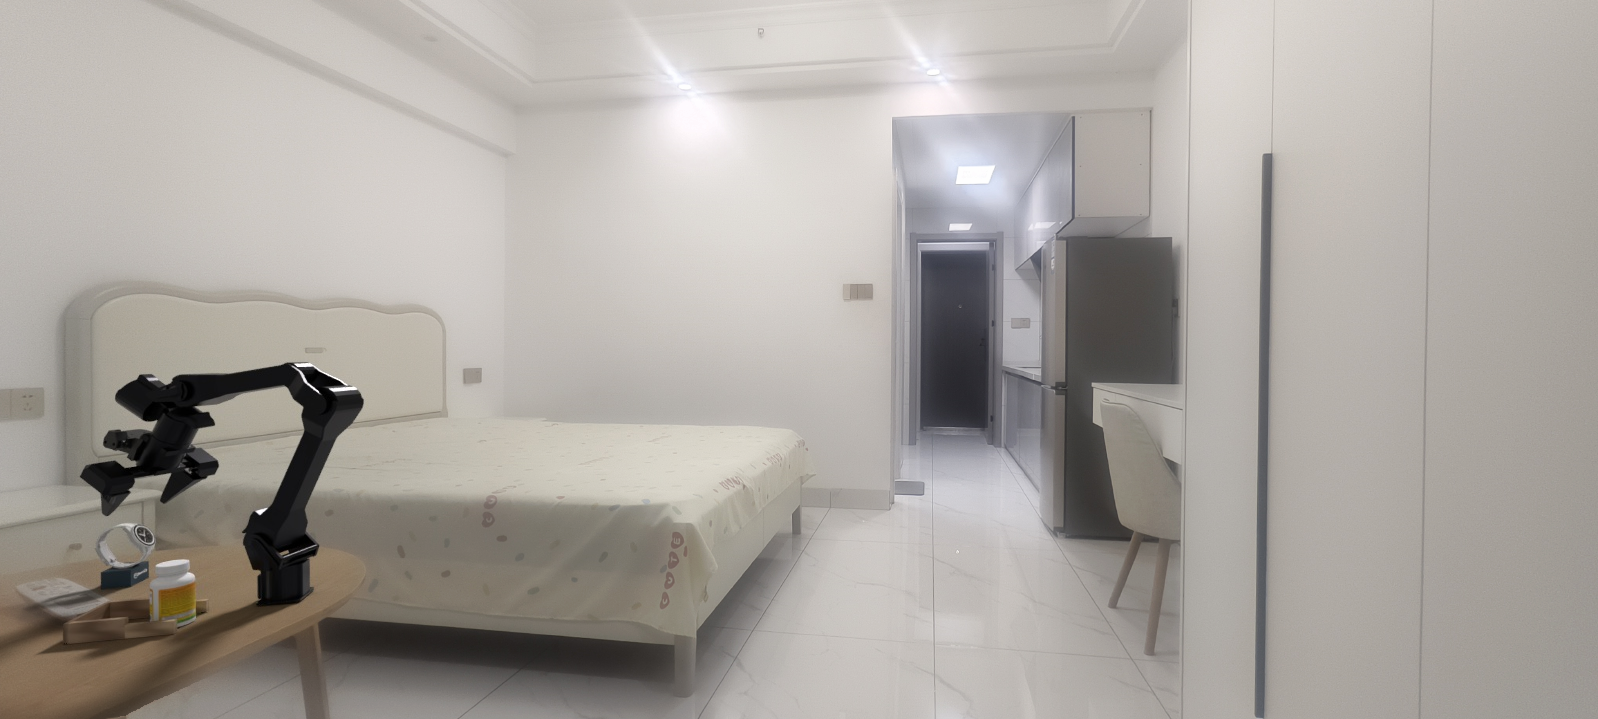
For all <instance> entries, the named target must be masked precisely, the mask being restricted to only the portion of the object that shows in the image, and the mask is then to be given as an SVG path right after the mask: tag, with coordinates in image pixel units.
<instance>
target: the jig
mask: <svg viewBox="0 0 1598 719" xmlns="http://www.w3.org/2000/svg"><path fill="white" fill-rule="evenodd" d="M207 611H208V612H210V599H209V598H201V599H196V614H202V613H201V612H207ZM208 612H207V613H208ZM146 618H147V619H148V618H149V619H150V597H140V598H130V599H129V598H128V599H118V600H117V599H115V600H107V601H105V602H104V603H102V604H100V605H98V606H95V607H93V608H92V609H90V610H88V611H86V612H83V613H82V614H80V615H78V616H76V617H74V618H72V619H70V620H68V621H66V622H65V623H63V624H62V645H71V644H82V643H90V642H91V643H92V642H103V641H112V640H115V641H116V640H125V639H126V640H127V639H134V638H144V637H154V636H156V637H157V636H167V635H174V634H176V633H178V627H177V619H172V620H160V621H150V620H149V621H140V622H138V621H137V622H130V623H129V620H136V619H146ZM64 643H65V644H64ZM66 643H67V644H66Z"/></svg>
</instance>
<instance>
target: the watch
mask: <svg viewBox="0 0 1598 719" xmlns="http://www.w3.org/2000/svg"><path fill="white" fill-rule="evenodd" d="M120 528H122V530H123V531H124V533H126V538H127V540H128V542H129V543H130V544H131V545H132V546H133V547H134V548H136V549H138V550H139V552H140V553H141V554H142V556H141V557H140V558H139V560H137V561H132V562H131V561H130V562H129V561H128V562H121V561H120V562H119V561H118V559H117V557H116V556H115V555H114V554H113V552H112V551H111V550H110V547H109V544H108V545H107V540H106V538H107V536H108V534H110V533H111V531H113V530H114V529H120ZM156 540H157V539H156V536H155V534H154V532H153V531H152V530H151V529H150V528H149V527H148V526H146V525H144V524H142V523H136V522H135V523H134V522H124V523H123V522H122V523H120V524H117V525H114V526H111V527H109V528H107V529H105V530H104V531H102V532H101V533H100V534H99V535H98V537H97V538H96V541H95V548H94V549H95V552H96V555H97V556H98V557H99V559H100V560H101V562H102V563H103V564H104V565H105V566H107V567H108V566H109V568H107V569H104V570H103V571H101V572H100V590H110V589H111V590H112V589H121V588H131V587H133V586H135V585H137V584H140V583H141V582H143V581H145V580H146V579H149V578H150V571H149V570H150V568H149V567H150V563H149V562H150V561H149V560H147V559H148V558H149V557H150V556H151V554H152V553H153V552H154V549H155V545H156V542H157V541H156Z"/></svg>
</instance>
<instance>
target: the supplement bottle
mask: <svg viewBox="0 0 1598 719" xmlns="http://www.w3.org/2000/svg"><path fill="white" fill-rule="evenodd" d="M190 566H191V565H190V560H189V559H173V560H168V561H163V562H160V563H157V564H155V566H154V567H155V568H154V570H155V571H154V573H155V576H156V577H155V578H153V579H152V580H151V581H150V582H149V598H150V617H149V621H160V620H172V619H177V628H180V627H183V626H186V625H188V624H191V623H192V622H194V621H195V620H196V618H197V613H196V600H197V596H196V576H195V574H194V573H193V572H188V571H189V570H190Z"/></svg>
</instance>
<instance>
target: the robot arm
mask: <svg viewBox="0 0 1598 719" xmlns="http://www.w3.org/2000/svg"><path fill="white" fill-rule="evenodd" d="M283 387H284V388H287V389H288V391H289V394H290V396H291V398H292V400H293V401H295V402H296V403H297V404H299V405H300V406H302V411H301V414H300V416H301V417H300V418H301V422H302V425H303V433H302V436H301V437H300V439H299V442H298V444H297V447H296V449H295V451H294V453H293V456H292V458H291V460H290V462H289V465H288V467H287V469H286V471H285V474H284V476H283V477H282V480H281V482H280V485H279V487H278V489H277V491H276V493H275V496H274V498H273V499H272V500H273V501H272V502H271V504H270V505H269V506H267V507H265V508H260V509H257V510H253V511H252V512H251V514H250V516H249V518H248V522H247V525H246V526H245V528H244V529H243V530H242V531H241V534H244V536H243V539H242V546H244V550H245V553H246V555H247V558H248V560H249V563H250V566H251V568H252V571H260V573H259V574H258V575H257V576H256V584H257V585H256V586H257V587H256V589H257V599H258V600H257V601H256V602H255V606H266V605H267V606H268V605H278V604H291V603H299V602H301V601H302V600H303V599H305V598H306V597H307V596H309V595H310V594H311V593H312V592H313V591H314V590H315V586H311V572H310V571H311V562H310V561H311V558H312V557H313V558H314V557H316V556H318V552H319V548H320V544H319V543H318V542H317V541H316V540H315V539H314V538H313V537H312V536H311V534H309V532H307V527H308V523H309V521H308V516H307V511H306V508H307V505H308V503H309V500H311V499H310V498H311V496H312V495H313V492H314V490H315V488H316V485H317V483H318V481H319V478H320V476H321V473H322V471H324V470H323V469H324V467H325V464H326V462H327V461H328V458H329V455H331V451H332V450H333V448H334V445H335V443H336V440H337V439H338V437H339V436H340V435H342V433H344V431H346V429H348V428H349V427H350V426H351V425H352V424H353V423H354V421H355V420H356V419H357V417H358V416H359V414H360V413H361V411H363V410H362V409H363V407H364V404H365V403H364V402H365V400H364V398H363V396H362V394H361V391H359V389H358V388H357V387H355V386H353V385H350V384H347V383H345V382H344V380H341V379H339V378H337V377H335V376H333V375H331V374H329V373H327V372H324V371H322V370H321V369H319V368H318V367H317V366H315V365H314V364H312V363H310V362H308V361H294V362H293V361H292V362H291V361H289V362H287V361H286V362H284V363H282V364H279V365H273V366H268V367H267V366H266V367H262V368H261V367H260V368H255V369H254V368H253V369H249V370H243V371H242V370H241V371H238V372H237V371H236V372H231V373H229V372H228V373H224V372H223V373H219V372H217V373H216V372H207V373H184V374H183V373H182V374H177V375H175V376H174V377H172V378H171V382H170V383H167V384H165V383H164V382H163V381H160V380H159V378H158V377H157V376H155V375H154V374H152V373H143V374H141V373H140V374H139V375H138V376H137V378H136V379H134V380H131V381H130V382H127V383H126V384H125V385H123V386H122V387H121V388H120V389H118V390H117V391H116V392H115V396H114V401H115V402H116V403H117V404H118V405H120V406H121V407H122V408H124V409H125V410H126V411H128V412H130V413H131V414H133V415H134V416H136V417H137V418H139V420H140V419H141V421H143V422H146V423H151V422H155V421H156V422H155V424H154V427H153V429H152V430H148V429H142V428H139V429H137V428H136V429H129V430H128V429H127V430H121V429H119V428H118V429H112V430H111V429H110V430H108V431H107V433H106V434H105V435H104V438H103V442H102V446H103V447H104V448H105V449H109V450H112V451H115V452H116V451H117V452H122V453H126V454H127V455H126V458H127V459H128V460H130V461H131V462H136V463H135V466H130V467H129V466H128V467H125V466H123V465H122V464H121V463H119V462H118V461H116V460H115V459H114V460H108V461H103V462H102V461H101V462H95V463H90V464H86V465H85V466H84V467H83V469H82V471H81V473H80V475H79V478H80V479H82V480H83V481H84V482H85V483H87V484H88V485H89V486H90V487H92V488H93V489H94V490H96V491H97V492H98V493H99V494H100V505H101V506H100V507H101V514H102V515H103V516H105V517H109V516H110V515H112V514H113V513H114V511H116V510H117V509H118V507H119V506H120V505H121V504H122V503H123V502H124V500H126V499H127V498H128V497H129V496H130V494H131V493H132V491H131V490H130V489H132V488H133V487H134V485H135V483H136V480H139V479H140V480H141V479H146V478H151V477H157V476H163V475H169V474H170V475H169V478H168V480H167V483H166V484H165V487H164V489H163V491H162V493H161V495H160V499H159V501H160V503H161V504H163V505H165V504H167V503H169V502H170V501H172V500H174V499H175V498H177V497H178V496H179V495H181V494H183V493H184V492H185V491H187V490H188V489H190V488H191V487H193V486H195V485H197V484H198V483H199V482H201V481H204V480H207V479H208V477H209V476H215V475H216V473H217V472H218V469H219V467H220V464H219V462H220V461H219V460H218V459H217V458H215V457H214V456H213V455H211V454H210V453H209V452H207V451H206V450H205V449H204V448H202V447H197V448H196V446H195V445H193V444H192V443H193V441H194V439H195V437H196V435H197V433H198V431H199V429H205V428H212V427H215V426H216V422H215V419H214V418H213V417H212V416H211V414H210V411H202V410H200V409H199V408H197V407H205V406H215V405H220V404H223V403H225V402H228V401H231V400H234V399H235V398H236V397H237V396H240V395H244V394H247V393H248V394H249V393H254V392H260V391H267V390H272V389H278V388H279V389H280V388H283ZM286 551H287V553H284V552H286ZM281 553H284V554H282V555H281Z"/></svg>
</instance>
